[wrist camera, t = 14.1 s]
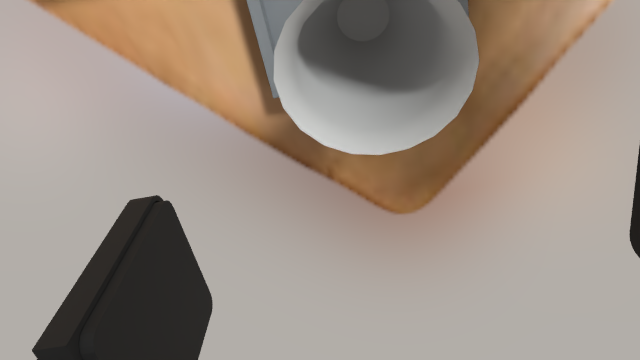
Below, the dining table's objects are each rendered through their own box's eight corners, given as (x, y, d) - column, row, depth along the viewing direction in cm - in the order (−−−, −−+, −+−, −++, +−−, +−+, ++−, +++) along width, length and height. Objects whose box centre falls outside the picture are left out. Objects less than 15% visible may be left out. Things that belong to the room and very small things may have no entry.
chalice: (410, -79, 32) (484, -45, 16) (412, 31, 35) (474, 146, 19) (295, -65, 32) (257, -19, 17) (307, 42, 36) (286, 162, 20)
